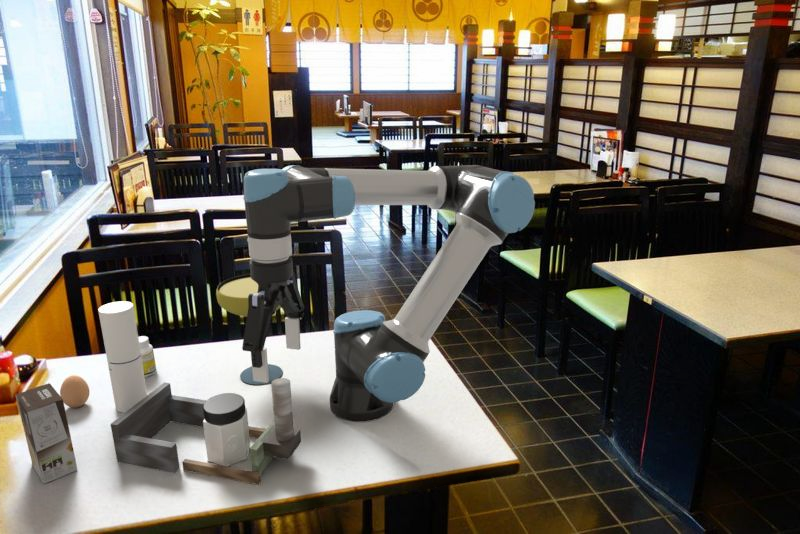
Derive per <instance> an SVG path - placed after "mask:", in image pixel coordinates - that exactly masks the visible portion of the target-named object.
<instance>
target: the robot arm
mask: <svg viewBox="0 0 800 534" xmlns="http://www.w3.org/2000/svg"><path fill="white" fill-rule="evenodd" d="M242 199H243V201H244V209H245V211H244V212H245V220H246V229H247V230H246V231H247V232H246V233H247V239H246V241H247V244H248V255H249V257H250V259H249V271H250V273H249V274H251V279H252V280H253V281H255V282H256V283H257V284H258V293H256V294H251V293H250V294H249V296H248V314H247V317H246V320H245V321H246V322H245V328H244V335H243V339H242V346H241V349H242V351H245V352H250V357H251V358H250V359H251V366H252V370H253V381H257V382H264V383H267V382H268V381H269V374H268V364H269V361H268V351H267V350H268V349H267V347H265V345H266V340H267V336H268V332H269V328H270V324H271V320H272V318H273V317H272V316H273V315H275V314H276V312H277V310H276V308H277V307H278V306H279V305H280V306H281V308H280V309H282V311H283V312H284V313H285V314H286V316H285V318H284V325H285V326H284V327H285V328H284V329H285V342H286V343H285V344H286V349H290V350H297V351H298V350H301V348H302V347H301V332H300V331H301V330H300V318H302V319H303V318H304V317H305V311H304V309H305V305H304V303H303V300H302V296H301V294H300V291H299V288H298V285H297V281H296V274H295V271H294V268H293V267H294V266H293V264H294V263H293V257H292V255H293V247H292V246H293V245H292V244H293V242H292V236H291V235H292V234H291V233H292V230H291V224H292V223H300V222H308V221H320V220H329V219H331V220H332V219H334V220H335V219H339V218H344V217H348V216H350V215H351V214H353V212H354V210H355V206H427V207H428V208H429V209H432V210H444V211H449V212H453V213H454V216H455V222H456V225H455V226H454V227H453V230H452V231H451V233H449V235H448V237H447V238H446V240H445V242H444V243H443V244H442V245H441V248H440V249H439V250H438V252H437V254H436V255H435V257H434V258H433V260H432V261H431V263H430V264H429V266H428V268H427V269H426V270H425V271H424V273H423V274H422V276H421V278H420V279H419V280H418V282H417V284H416V285H415V287H414V288H413V290H412V292H411V293H410V294H409V296H408V297H407V299H406V300H405V302H404V304H403V305H402V306H401V308H400V309H399V311H398V312H397V314H396V315H395V317H394V318H393V319H390V320H386V316H385V314H384V313H382V312H380V311H378V310H369V309H367V310H366V309H365V310H364V309H363V310H354V311H348V312H345V313H343V314H340V315H339V316H337V317H336V318H335V320H334V324H333V337H334V340H333V341H334V342H333V343H334V356H335V359H334V360H335V361H334V362H335V379H334V381H333V384H332V387H331V388H332V389H331V391H330V394H329V408H330V411H331V413H332V414H334V415H335V417H337V418H339V419H342V420H345V421H348V422H356V423H357V422H358V423H360V422H361V423H363V422H365V423H366V422H372V421H376V420H378V419H381V418H382V417H385V416H387V415H388V414H389V413H390V412H391V411H392V409H393V407H394V403H399V402H401V401H405V400H407V399H409V398H411V397H412V396H414V395H415V394H416V393H417V392H418V391H419V390H420V389H421V387H422V386H423V384H424V382H425V378H426V366H425V363H424V362H425V360H426V359H427V357H428V356H429V354H430V347H429V346H430V345H429V341H430V340H431V338H432V336H433V335H434V333H435V332H436V330H437V329H438V328H439V326H440V325H441V323H442V322H443V320H444V318H445V317H446V315H447V314H448V313H449V310H450V309H451V308H452V306H453V304H454V303H455V301H456V300H457V299H458V297H459V295H460V294H461V293H462V291H463V289H465V286H466V285H467V284H468V281H469V280H470V279H471V277H473V274H474V273H475V271H476V270H477V268H478V266H479V265H480V263H481V262H482V261H483V259H484V257H485V256H486V254H487V253H488V252H489V250H490V248H492V247H494V246H498V245H502V244H503V242H504V240H505V239H506V237H507V236H508V235H509V234H513V233H517V232H518V231H519V232H521V231H522V230H523V229H525V228H526V227H527V226H528V224H529V223H530V221H531V220H532V218H533V215H534V211H535V206H536V201H535V193H534V189H533V188H532V186H531V184H530V183H529V182H528V180H527V179H525V177H523V176H520V175H518V174H515V173H514V172H511V171H507V170H506V171H504V170H500V169H494V168H492V167H491V168H490V167H487V166H483V165H478V164H472V165H471V164H466V165H444V166H443V165H442V166H441V165H439V166H437V165H435V166H434V165H433V166H431V167H430V168H428V170H415V169H414V170H411V169H410V170H409V169H408V170H405V169H401V170H400V169H371V168H369V169H368V168H367V169H365V168H330V167H329V168H327V167H325V168H319V167H318V168H317V167H304V166H301V165H294V164H292V165H287V166H285V167H283V168H282V169H280V168H257V169H253V170H249V171H247V172H246V173H245V175H244V176H243V198H242ZM264 307H265V308H264Z"/></svg>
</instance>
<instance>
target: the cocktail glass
mask: <svg viewBox="0 0 800 534" xmlns="http://www.w3.org/2000/svg"><path fill="white" fill-rule="evenodd" d="M215 291H216V292H215V296H216V300H217V301H216V302H217V303H218V305H219V307H220V308H222V309H223V310H225V311H226V312H228V313H230V314H234V315H236V316H240V317H245V318H247V314H248V296H249V294H250V293H251V294H256V293H258V284H257V283H256V282H255V281H253V280H252V279H251V274H250V273H248V274H242V275H237V276H234V277H231V278H228V279H226V280H223V281H222V282H220V283H219V284H218V285H217V288H216V290H215ZM264 308H265V307H264ZM280 309H282V308H281V306H280V305H279V306H278V307H277V308H276V311H278V310H280ZM268 374H269V381H268V382H267V383H264V382H257V381H253V370H252V365H251V366H250V367H247V368H245V369H244V370H243V371H241V373H240V375H239V377H240V378H239V379H240V380H241V381H242V382H243V383H244V384H247V385H252V386H262V385H268V384H271V383H272V381H273V380H275V379H278V378H282V375H283V370H282V368H281V367H280V366H278V365H276V364H271V363H268Z"/></svg>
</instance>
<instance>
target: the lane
mask: <svg viewBox="0 0 800 534" xmlns="http://www.w3.org/2000/svg"><path fill="white" fill-rule="evenodd" d="M207 400H208V399H199V398H192V397H188V396H187V397H186V396H182V395H181V396H180V395H175V394H174V395H173V394H172V389H171V383H170V382H163V383H162V384H160V385H159V386H158V387H156V388H155V389H154V390H152V391H151V392H150V393H148V394H147V396H146V397H145V398H143V399H142V400H141V401H140V402H138V403H137V404H136V405H134V406H133V407H132V408H130V409H129V410H128V411H127V412H123V414H121V415H120V416H119V417H117V418H116V419H115V420H113V422H111V423H110V429H111V434H112V440H113V445H114V451H115V456H116V462H117V463H118V464H119V463H120V464H124V465H129V466H136V467H140V468H146V469H150V470H157V471H161V472H165V473H166V472H167V473H172V474H177V472H178V471H179V470H180V468H181V466H180V461H179V453H178V447H177V446H178V445H177V443H176V442H171V441H165V440H159V439H155V438H154V437H156V436H157V435H158V434H159V433H160V432H161V431H162V430H163V429H164V428H165V427H167V426H168V425H169V424H170V423H177V424H183V425H189V426H194V427H199V428H204V426H203V420H204V412H203V405H204V403H205V402H206V401H207ZM248 426H249V425H248ZM266 429H267V428H263V427H255V426H249V437H250V438H253V439H258V438H259V437H260V436H261V435H262V433H263V432H264V431H265V430H266ZM181 462H182V463H181V464H182V469H183V471H184V472H189V473H196V474H201V475H207V476H211V477H216V478H222V479H226V480H227V479H228V480H232V481H237V482H243V483H247V484H248V483H249V484H254V485H259V484H260V483H261V481H262V480H261V478H262V477H261V474H260V473H259V472H254V471H252V470H248V469H243V468H242V469H241V468H237V467H230V466H221V465H219V464H216V463H212V462H211V463H210V462H204V461H199V460H194V459H189V458H184V459H183V460H182V461H181Z"/></svg>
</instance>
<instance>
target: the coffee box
mask: <svg viewBox="0 0 800 534" xmlns="http://www.w3.org/2000/svg"><path fill="white" fill-rule="evenodd" d="M15 399H16V403H17V406H18V407H17V408H18V411H19V415H20V419H21V420H20V421H21V422H22V427H23V432H24V436H25V439H26V440H25V441H26V443H27V448H28V453H29V456H30V460H31V464H32V466H33V468H34V470H35V472H36V473H37V475H38V476H39V478H40V480H41V482H42V483H43V484H47V483H49V482H52V481H54V480H57V479H59V478H62V477H64V476H66V475H69V474H71V473H74V472H76V471H77V470H78V465H77V460H76V456H75V451H74V447H73V441H72V436H71V431H70V427H69V423H68V418H67V413H66V408H65V403H64V402H63V399H62V398H61V396H60V393H58V391H57V390H56V389H55V388H54V386H52V384H51V383H50V382H49V383H46V384H42V385H39V386H36V387H32V388H29V389H27V390H25V391H22V392H19V393H16V394H15Z"/></svg>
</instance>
